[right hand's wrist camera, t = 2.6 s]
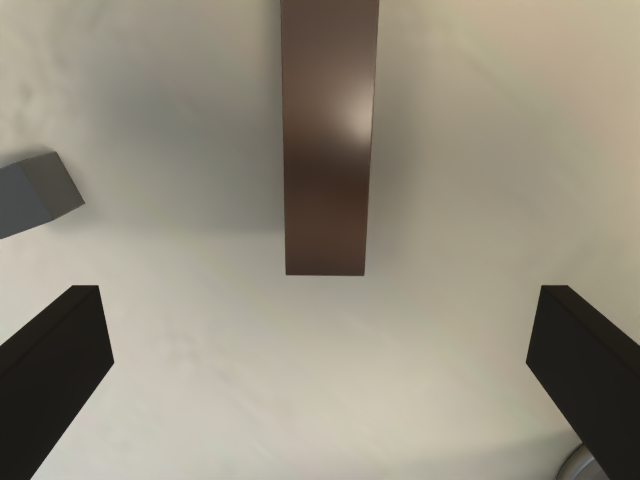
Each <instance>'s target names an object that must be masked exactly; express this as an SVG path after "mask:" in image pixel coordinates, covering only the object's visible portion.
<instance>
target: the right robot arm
mask: <svg viewBox="0 0 640 480" xmlns="http://www.w3.org/2000/svg"><path fill="white" fill-rule="evenodd" d="M113 364H114V359H113V354H112V349H111V344H110V339H109V334H108V330H107V325H106V320H105V315H104V310H103V305H102V301H101V296H100V291H99V286H98V285H72V286H71V287H70V288H69V289H68V290H66V291H65V292H64V293H63V294H62V295H60V296H59V297H58V298H57V299H56V300H54V301H53V302H52V303H51V304H50V305H48V306H47V307H46V308H45V309H44V310H43V311H41V312H40V313H39V314H38V315H37V316H35V317H34V318H33V319H32V320H31V321H29V322H28V323H27V324H26V325H25V326H23V327H22V328H21V329H20V330H19V331H18V332H16V333H15V334H14V335H13V336H12V337H10V338H9V339H8V340H7V341H6V342H4V343H3V344H2V345H1V346H0V480H30V479H31V478H32V476H33V475H34V474H35V472H36V471H37V469H38V468H39V467H40V465H41V464H42V462H43V461H44V460H45V458H46V457H47V456H48V454H49V453H50V451H51V450H52V449H53V447H54V446H55V444H56V443H57V442H58V440H59V439H60V438H61V436H62V435H63V433H64V432H65V431H66V429H67V428H68V426H69V425H70V424H71V422H72V421H73V419H74V418H75V417H76V415H77V414H78V413H79V411H80V410H81V408H82V407H83V406H84V404H85V403H86V401H87V400H88V399H89V397H90V396H91V395H92V393H93V392H94V390H95V389H96V388H97V386H98V385H99V383H100V382H101V381H102V379H103V378H104V376H105V375H106V374H107V372H108V371H109V370H110V368H111V367H112V365H113ZM526 364H527V365H528V367H529V368H530V370H531V371H532V372H533V374H534V375H535V376H536V378H537V379H538V381H539V382H540V383H541V385H542V386H543V388H544V389H545V390H546V392H547V393H548V395H549V396H550V397H551V399H552V400H553V401H554V403H555V404H556V406H557V407H558V408H559V410H560V411H561V413H562V414H563V415H564V417H565V418H566V419H567V421H568V422H569V424H570V425H571V426H572V428H573V429H574V431H575V432H576V433H577V435H578V436H579V438H580V439H581V440H582V442H583V443H584V445H583V446H581V447H580V448H579V449H578V450H577V451H575V452H574V453H573V454H572V455H571V457H570V458H569V459H568V460H567V461H566V463H565V464H564V465H563V467H562V469H561V470H560V472H559V474H558V476H557V479H556V480H640V346H639V345H638V344H637V343H636V342H634V341H633V340H632V339H631V338H630V337H628V336H627V335H626V334H625V333H624V332H622V331H621V330H620V329H619V328H618V327H617V326H615V325H614V324H613V323H612V322H611V321H609V320H608V319H607V318H606V317H605V316H603V315H602V314H601V313H600V312H599V311H597V310H596V309H595V308H594V307H593V306H592V305H590V304H589V303H588V302H587V301H586V300H584V299H583V298H582V297H581V296H580V295H578V294H577V293H576V292H575V291H574V290H572V289H571V288H570V287H569V286H568V285H542V286H541V291H540V296H539V301H538V305H537V310H536V315H535V320H534V325H533V330H532V334H531V339H530V344H529V349H528V354H527V359H526Z"/></svg>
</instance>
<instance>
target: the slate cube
mask: <svg viewBox="0 0 640 480" xmlns="http://www.w3.org/2000/svg"><path fill="white" fill-rule="evenodd" d="M83 204H85V202H84V201H83V199H82V197H81V195H80V193H79V192H78V190H77V188H76V186H75V185H74V183H73V181H72V179H71V178H70V176H69V174H68V172H67V170H66V169H65V167H64V165H63V163H62V162H61V160H60V158H59V156H58V154H57V153H56V152H52V153H48V154H45V155H41V156H37V157H34V158H30V159H27V160H23V161H19V162H16V163H14V164H11V165H8V166H6V167H3V168H1V169H0V239H3V238H6V237H9V236H12V235H14V234H17V233H20V232H23V231H26V230H28V229H31V228H34V227H37V226H39V225H42V224H45V223H48V222H50V221H53V220H55V219H57V218H59V217H61V216H63V215H65V214H66V213H68V212H70V211H72V210H74V209H76V208H78V207H80V206H82V205H83Z"/></svg>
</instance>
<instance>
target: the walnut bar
mask: <svg viewBox="0 0 640 480" xmlns="http://www.w3.org/2000/svg"><path fill="white" fill-rule="evenodd" d="M378 13H379V0H281V45H282V101H283V157H284V213H285V269H286V275H311V276H364V272H365V253H366V235H367V216H368V198H369V179H370V161H371V142H372V124H373V105H374V87H375V69H376V50H377V32H378Z"/></svg>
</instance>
